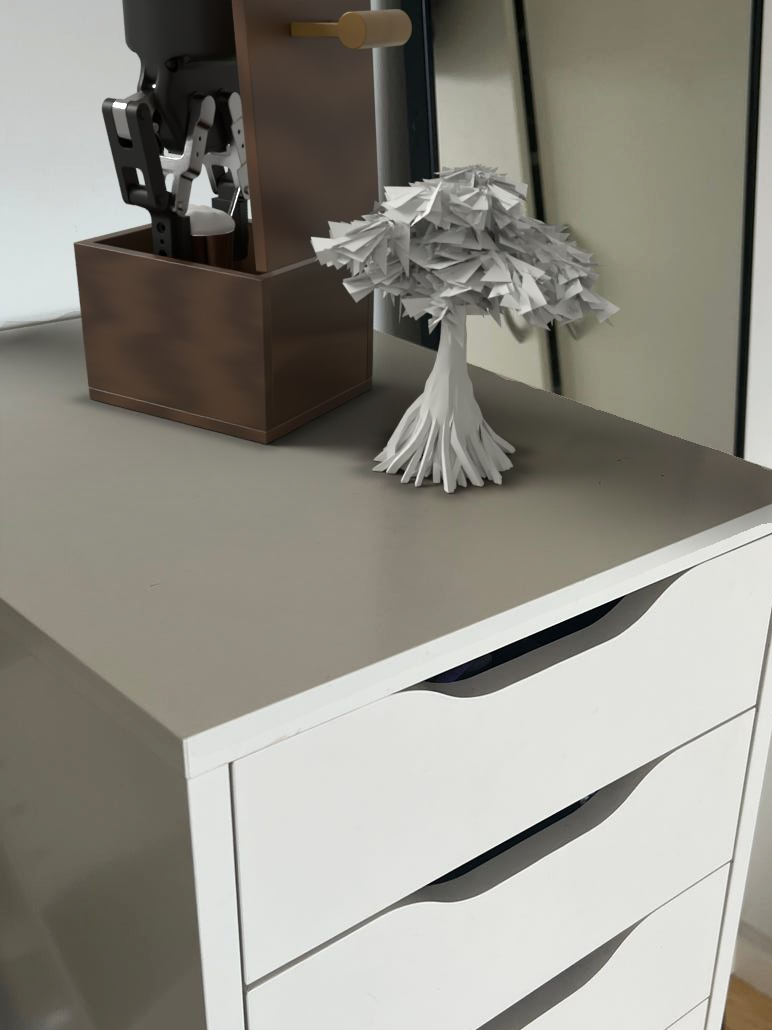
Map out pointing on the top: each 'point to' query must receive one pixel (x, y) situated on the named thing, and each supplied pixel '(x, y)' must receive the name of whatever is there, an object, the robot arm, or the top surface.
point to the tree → (460, 300)
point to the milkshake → (212, 234)
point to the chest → (220, 337)
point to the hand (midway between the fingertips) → (203, 266)
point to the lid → (309, 116)
